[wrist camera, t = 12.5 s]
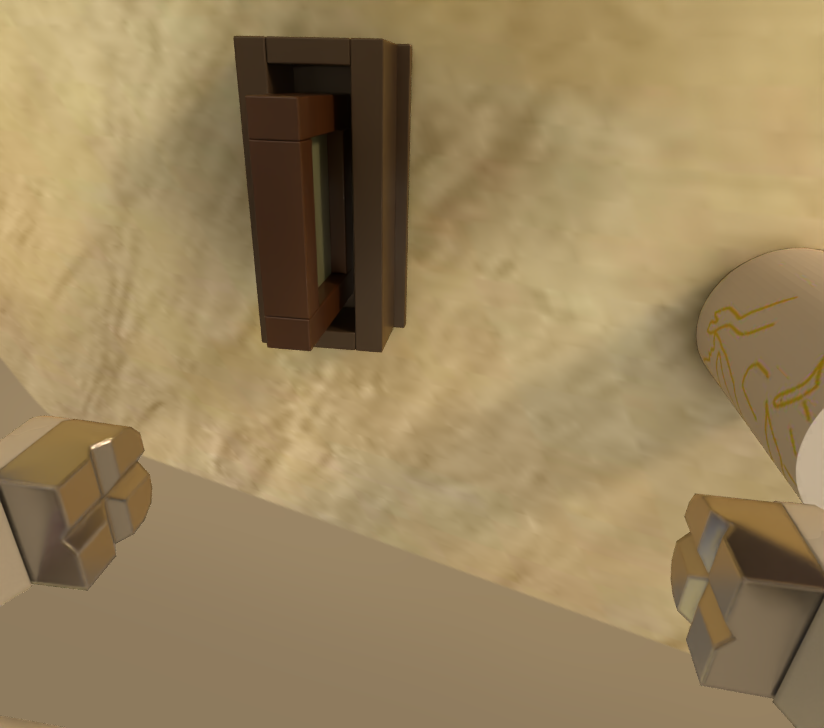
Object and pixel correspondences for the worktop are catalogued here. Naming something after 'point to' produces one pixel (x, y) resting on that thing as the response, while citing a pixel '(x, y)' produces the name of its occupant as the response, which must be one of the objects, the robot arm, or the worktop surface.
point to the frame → (302, 211)
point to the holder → (370, 164)
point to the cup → (774, 358)
